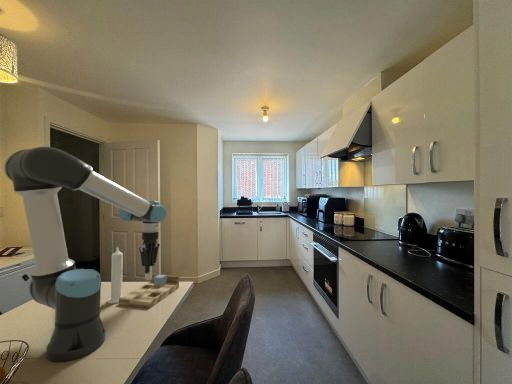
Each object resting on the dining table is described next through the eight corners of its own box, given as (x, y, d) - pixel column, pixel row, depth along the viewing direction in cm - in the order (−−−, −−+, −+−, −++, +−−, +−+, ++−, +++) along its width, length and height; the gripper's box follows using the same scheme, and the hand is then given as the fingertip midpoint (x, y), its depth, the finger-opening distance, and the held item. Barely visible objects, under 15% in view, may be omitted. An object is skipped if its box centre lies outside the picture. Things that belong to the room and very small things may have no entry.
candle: (119, 303, 105) (120, 248, 106) (103, 303, 105) (105, 248, 106) (128, 297, 112) (129, 245, 113) (113, 296, 112) (114, 245, 113)
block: (161, 286, 119) (161, 277, 119) (154, 285, 120) (154, 277, 120) (166, 283, 123) (166, 275, 124) (159, 282, 124) (159, 274, 124)
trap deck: (149, 308, 101) (150, 294, 101) (118, 304, 104) (119, 291, 104) (178, 287, 125) (179, 276, 125) (152, 285, 128) (152, 274, 128)
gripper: (148, 233, 108) (146, 284, 107) (165, 230, 121) (163, 276, 120) (134, 232, 110) (132, 282, 109) (152, 229, 123) (150, 274, 121)
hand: (148, 279), depth 114 cm, fingers closed
